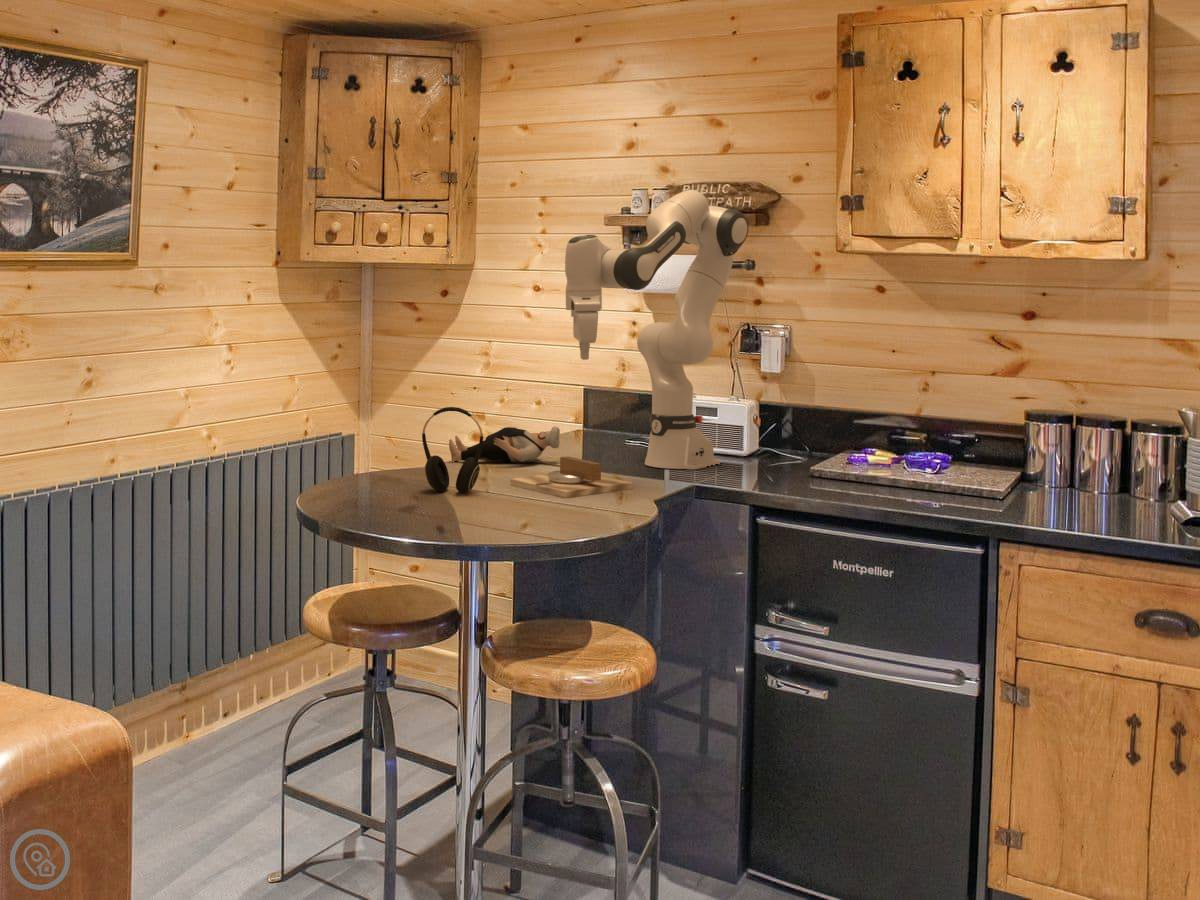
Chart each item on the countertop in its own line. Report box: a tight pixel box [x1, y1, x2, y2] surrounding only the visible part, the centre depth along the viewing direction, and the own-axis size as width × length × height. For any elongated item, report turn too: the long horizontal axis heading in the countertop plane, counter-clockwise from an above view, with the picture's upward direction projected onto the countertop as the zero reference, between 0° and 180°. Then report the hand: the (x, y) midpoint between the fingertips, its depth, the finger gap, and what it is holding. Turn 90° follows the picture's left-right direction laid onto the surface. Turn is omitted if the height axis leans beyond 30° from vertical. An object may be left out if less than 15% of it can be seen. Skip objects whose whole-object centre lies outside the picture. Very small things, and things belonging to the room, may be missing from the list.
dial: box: [548, 456, 602, 483], centre depth 270 cm, size 16×11×5 cm
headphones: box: [421, 406, 484, 494], centre depth 261 cm, size 9×15×20 cm, turn 80°
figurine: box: [448, 425, 561, 464], centre depth 309 cm, size 23×10×30 cm
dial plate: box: [509, 473, 633, 499], centre depth 272 cm, size 21×21×2 cm
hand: (584, 359), depth 276 cm, fingers closed
